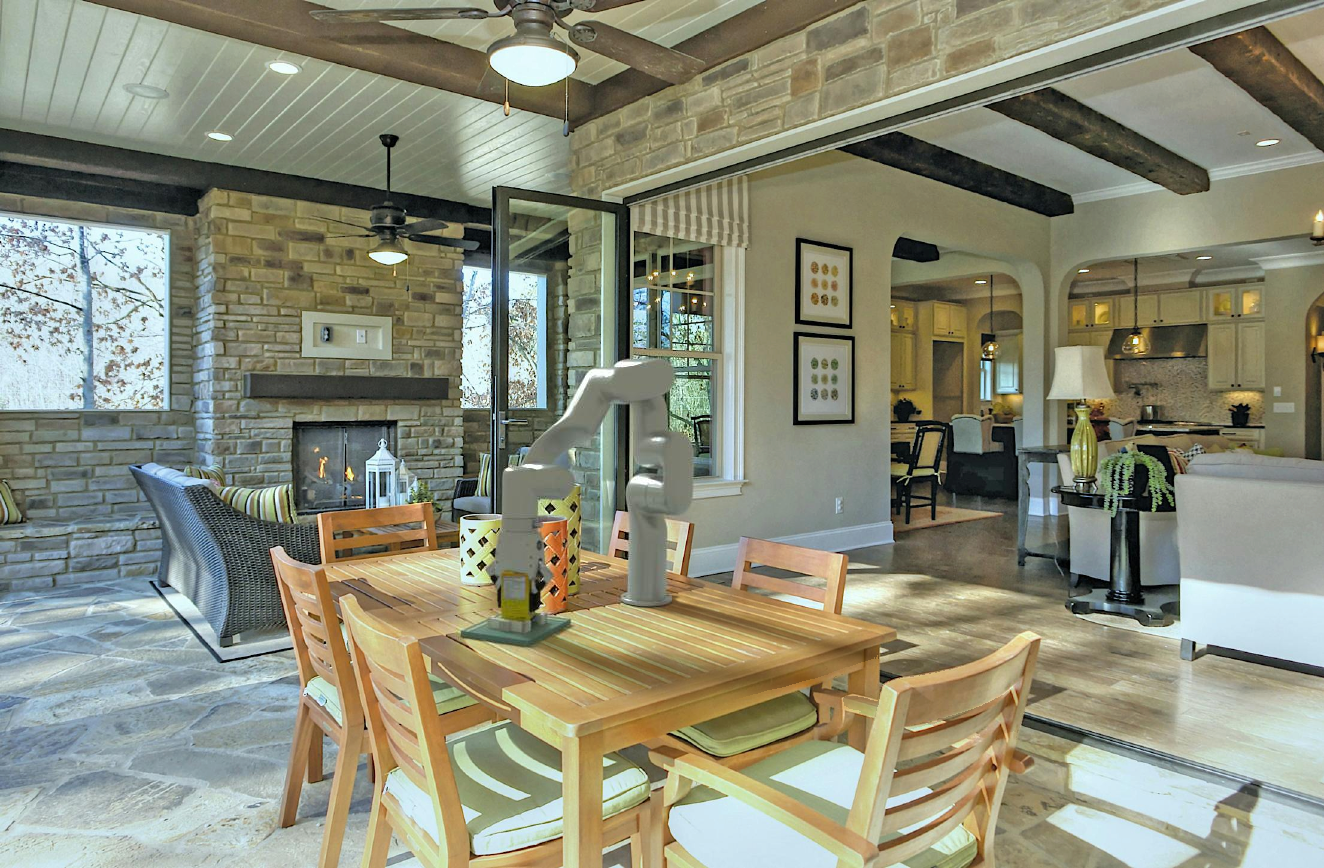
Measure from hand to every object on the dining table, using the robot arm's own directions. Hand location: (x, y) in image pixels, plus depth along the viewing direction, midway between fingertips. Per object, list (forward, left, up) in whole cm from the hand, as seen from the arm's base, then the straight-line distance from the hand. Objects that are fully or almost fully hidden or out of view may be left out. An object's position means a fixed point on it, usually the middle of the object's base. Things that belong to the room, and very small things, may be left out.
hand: (518, 607), depth 170 cm
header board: (0, 0, -5) cm, 5 cm away
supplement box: (0, 0, -3) cm, 3 cm away
